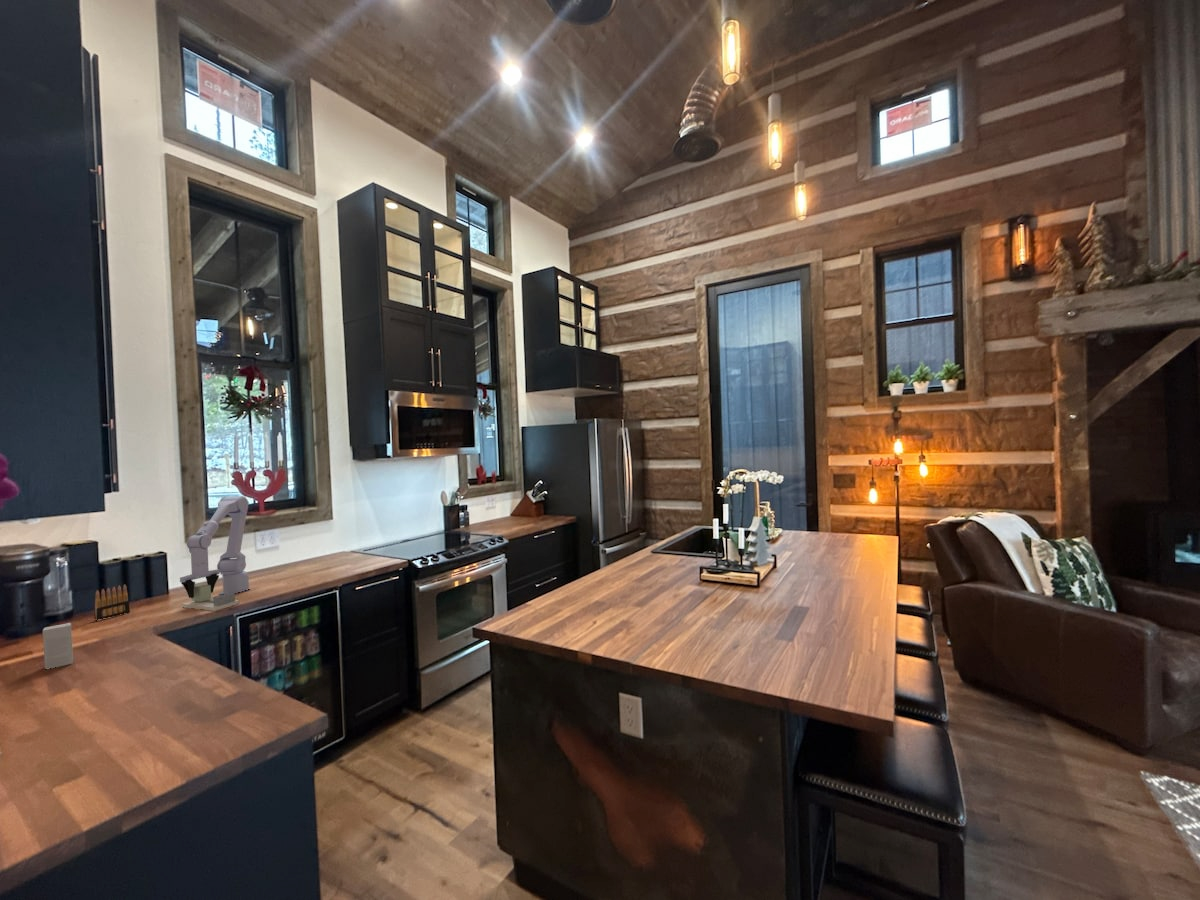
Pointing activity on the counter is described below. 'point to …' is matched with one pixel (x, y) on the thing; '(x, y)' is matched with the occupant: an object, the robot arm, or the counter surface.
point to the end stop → (224, 599)
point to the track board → (207, 605)
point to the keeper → (202, 593)
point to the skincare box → (57, 645)
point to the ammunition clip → (111, 603)
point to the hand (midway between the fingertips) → (201, 595)
